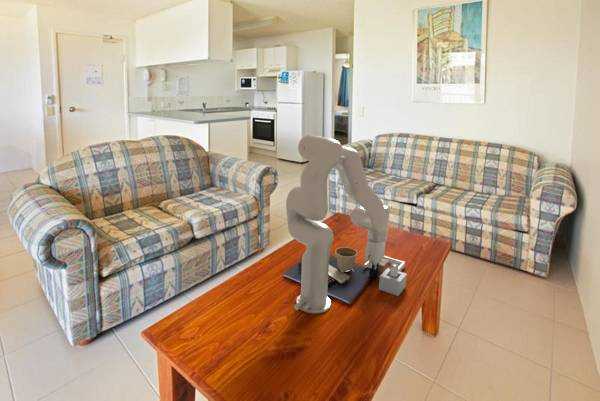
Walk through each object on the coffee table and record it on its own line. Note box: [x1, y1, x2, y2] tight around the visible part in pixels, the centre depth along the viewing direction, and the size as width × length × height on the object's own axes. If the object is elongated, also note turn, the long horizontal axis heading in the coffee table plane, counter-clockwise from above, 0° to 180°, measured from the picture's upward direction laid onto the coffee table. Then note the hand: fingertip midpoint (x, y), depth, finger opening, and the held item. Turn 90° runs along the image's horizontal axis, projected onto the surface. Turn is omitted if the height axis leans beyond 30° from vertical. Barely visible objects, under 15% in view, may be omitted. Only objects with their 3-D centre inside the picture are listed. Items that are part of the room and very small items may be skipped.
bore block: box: [378, 268, 408, 297], centre depth 144 cm, size 8×8×6 cm
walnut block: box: [376, 259, 390, 279], centre depth 154 cm, size 6×6×6 cm
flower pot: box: [334, 246, 358, 271], centre depth 156 cm, size 9×9×9 cm
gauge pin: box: [389, 264, 399, 279], centre depth 143 cm, size 3×3×10 cm
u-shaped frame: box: [363, 255, 406, 272], centre depth 160 cm, size 13×14×2 cm
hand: (373, 276), depth 150 cm, fingers closed
